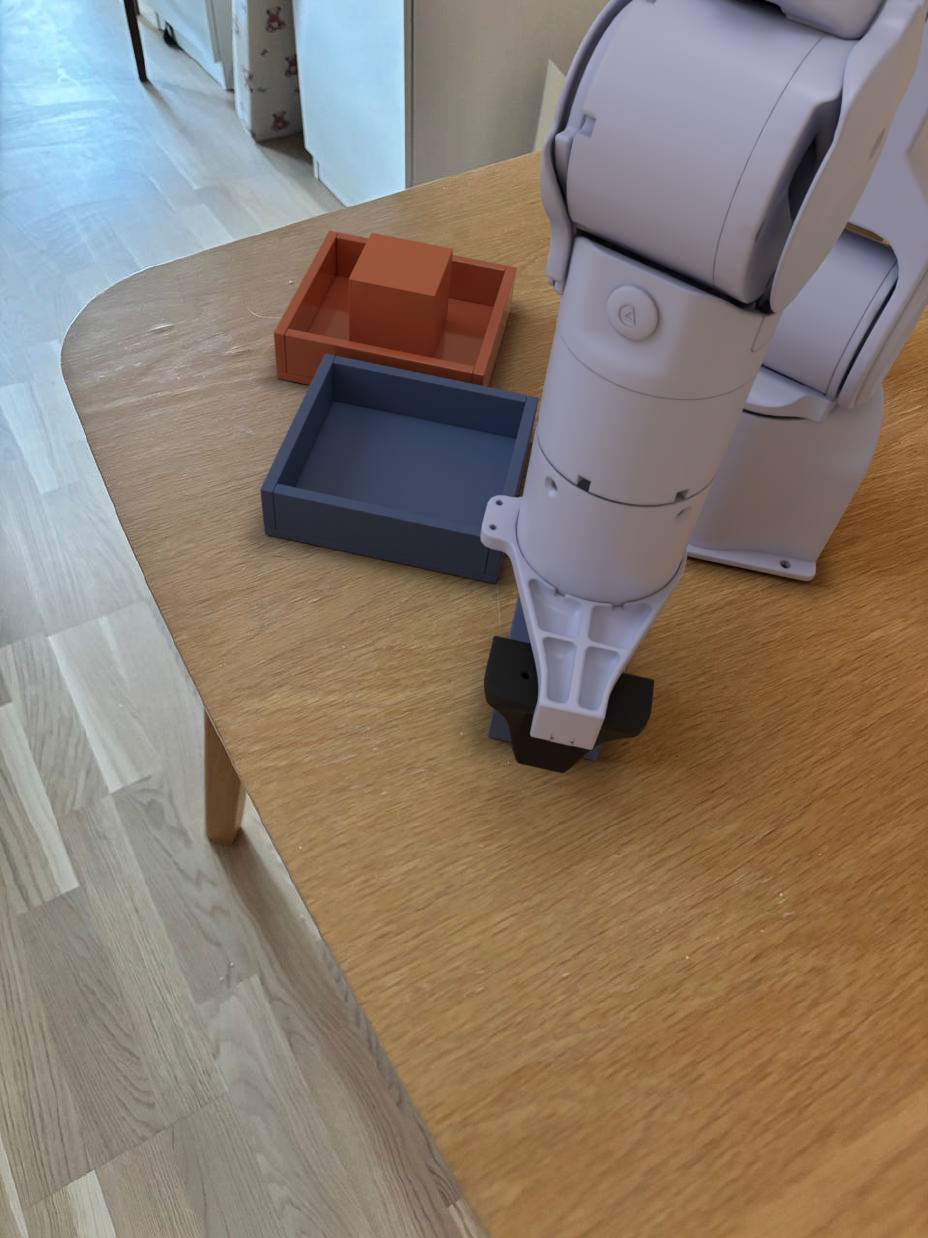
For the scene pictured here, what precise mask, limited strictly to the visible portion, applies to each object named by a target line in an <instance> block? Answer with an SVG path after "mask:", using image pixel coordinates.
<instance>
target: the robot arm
mask: <svg viewBox="0 0 928 1238" xmlns="http://www.w3.org/2000/svg"><path fill="white" fill-rule="evenodd" d="M539 189H540V197H541V202H542V207H543V209H544V212H545V214H546V216H547V218H548V221H549V225H550V244H549V250H548V256H547V260H546V267H545V273H544V276H545V277H546V278H547V279H548V285H549V286H551V287H553V290H554V292H555V293H556V294H557V295H560V296H561V297H560V302H559V307H558V312H557V319H556V325H555V329H554V334H553V340H552V344H551V349H550V353H549V360H548V364H547V369H546V374H545V379H544V384H543V389H542V393H541V399H540V404H539V409H538V414H537V418H536V419H537V420H536V425H535V431H534V435H533V441H532V445H531V451H530V456H529V461H528V467H527V471H526V477H525V482H524V487H523V491H522V492H523V493H522V496H517V497H509V496H504V495H497V496H494V497H492V498H491V499H490V500H489V502H488V504H487V508H486V511H485V515H484V519H483V523H482V528H481V534H480V538H481V542H482V543H483V544H484V546H486V547H488V548H490V549H494V550H498V551H502V552H504V554H506V555H507V556H508V557H509V559H510V562H511V566H512V570H513V574H514V578H515V583H516V588H517V591H518V592H517V593H519V596H520V600H521V604H522V608H523V613H524V617H525V621H526V625H527V630H528V634H529V638H530V642H531V643H527V642H522V641H517V640H513V639H509V637H508V638H507V637H503V636H499V635H494V636H492V637H493V638H492V641H491V645H490V650H489V654H488V658H487V663H486V668H485V672H484V678H483V689H484V695H485V700H486V703H487V705H489V707H491V708H492V709H493V708H494V709H495V710H496V711H498V712H499V713H500V714H501V715H502V716H503V717H504V718H505V719H506V721H507V723H508V726H509V731H510V737H511V742H510V743H511V744H510V745H511V750H512V752H513V757H514V759H515V762H517V764H519V765H522V766H523V765H524V766H527V767H532V768H537V769H541V770H545V771H550V772H554V773H558V774H564V773H567V772H568V771H569V770H570V769H572V768H573V767H574V766H575V765H576V764H578V762H579V761H581V760H582V759H584V758H583V757H584V756H585V755H586V754H587V753H588V752H589V751H590V750H592V749H593V748H594V747H596V746H597V745H600V744H602V743H603V744H605V743H608V742H613V741H616V740H624V739H625V740H626V739H634V738H637V737H639V736H640V734H641V733H642V732H643V731H644V729H645V728H646V726H647V725H648V723H649V721H650V719H651V715H652V712H653V702H654V690H655V682H656V680H654V679H653V678H650V677H644V676H640V675H637V674H636V675H635V674H631V673H627V672H625V669H626V668H627V666H628V664H629V663H630V661H631V660H632V658H633V657H634V655H635V653H636V652H637V650H638V649H639V647H640V646H641V644H642V643H643V641H644V639H645V638H646V636H647V635H648V633H649V632H650V630H651V628H652V627H653V625H654V624H655V622H656V621H657V619H658V617H659V615H661V613H662V611H663V610H664V608H665V607H666V604H668V601H669V600H670V599H671V597H672V596H673V594H674V592H675V591H676V589H677V587H678V585H679V583H680V582H681V578H682V576H683V574H684V571H685V569H686V564H687V561H688V560H687V559H688V557H690V558H693V559H698V560H703V561H708V562H713V563H717V564H721V565H726V566H732V567H736V568H741V569H745V570H750V571H755V572H758V573H759V572H760V573H765V574H770V575H774V576H778V577H782V578H783V577H784V578H788V579H793V580H796V581H797V580H798V581H801V582H810V581H812V580H813V579H814V577H815V575H816V573H817V560H818V559H819V558H820V556H821V554H822V552H823V550H824V549H825V547H826V546H827V544H828V542H829V540H830V539H831V536H832V535H833V533H834V532H835V530H836V528H837V526H838V524H839V523H840V521H841V520H842V518H843V516H844V514H845V512H846V510H847V509H848V507H849V505H850V503H851V502H852V500H853V498H854V496H855V495H856V493H857V491H858V489H859V488H860V486H861V484H862V483H863V481H864V479H865V476H866V474H867V473H868V470H869V468H870V465H871V463H872V460H873V458H874V454H875V452H876V449H877V445H878V443H879V439H880V436H881V431H882V427H883V421H884V412H885V391H884V386H883V384H882V383H883V382H884V380H885V378H886V377H887V376H888V373H889V372H890V370H891V369H892V367H893V365H894V364H895V362H896V360H897V358H898V357H899V355H900V353H901V352H902V351H903V348H904V347H905V345H906V343H907V341H908V339H909V338H910V336H911V335H912V333H913V331H914V330H915V328H916V326H917V324H918V322H919V320H920V319H921V317H922V315H923V313H924V311H925V309H926V307H927V306H928V0H609V2H607V3H606V4H605V6H604V7H603V8H602V9H601V11H600V12H599V13H598V14H597V15H596V17H595V19H594V20H593V22H592V23H591V25H590V27H589V28H588V29H587V31H586V33H585V35H584V37H583V39H582V40H581V43H580V44H579V47H578V48H577V51H576V52H575V55H574V58H573V59H572V62H571V64H570V66H569V69H568V71H567V74H566V77H565V79H564V82H563V85H562V87H561V91H560V93H559V97H558V101H557V105H556V108H555V112H554V116H553V119H552V124H551V127H550V129H549V132H548V133H547V134H546V135H545V137H544V139H543V142H542V150H541V158H540V170H539ZM847 222H850V223H852V224H855V225H857V226H859V227H862V228H864V229H867V230H869V231H872V232H874V233H875V234H877V235H878V236H880V237H881V238H883V239H884V240H883V241H879V240H877V239H874V238H872V237H869V236H867V235H864V234H862V233H860V232H857V231H855V230H852V229H850V228H847V227H845V226H846V224H847ZM884 241H886V242H884ZM623 671H624V673H622V672H623Z"/></svg>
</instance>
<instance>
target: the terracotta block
mask: <svg viewBox="0 0 928 1238" xmlns="http://www.w3.org/2000/svg"><path fill="white" fill-rule="evenodd" d="M368 238H369V239H368V241H367V243H366V245H365V247H364V249H363V251H362V253H361V255H360V257H359V259H358V261H357V263H356V265H355V267H354V269H353V271H352V273H351V275H350V277H349V341H352V342H357V343H362V344H367V345H372V346H377V347H381V348H386V349H391V350H396V351H401V352H406V353H411V354H416V355H421V356H425V357H430V358H433V356H434V354H435V351H436V348H437V345H438V343H439V340H440V337H441V334H442V331H443V329H444V326H445V323H446V320H447V311H448V300H449V289H450V278H451V267H452V256H453V255H454V248H451V247H447V246H441V245H437V244H431V243H426V242H421V241H416V240H411V239H406V238H401V237H396V236H391V235H386V234H381V233H375V232H371V233H370V234H369V237H368Z"/></svg>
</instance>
